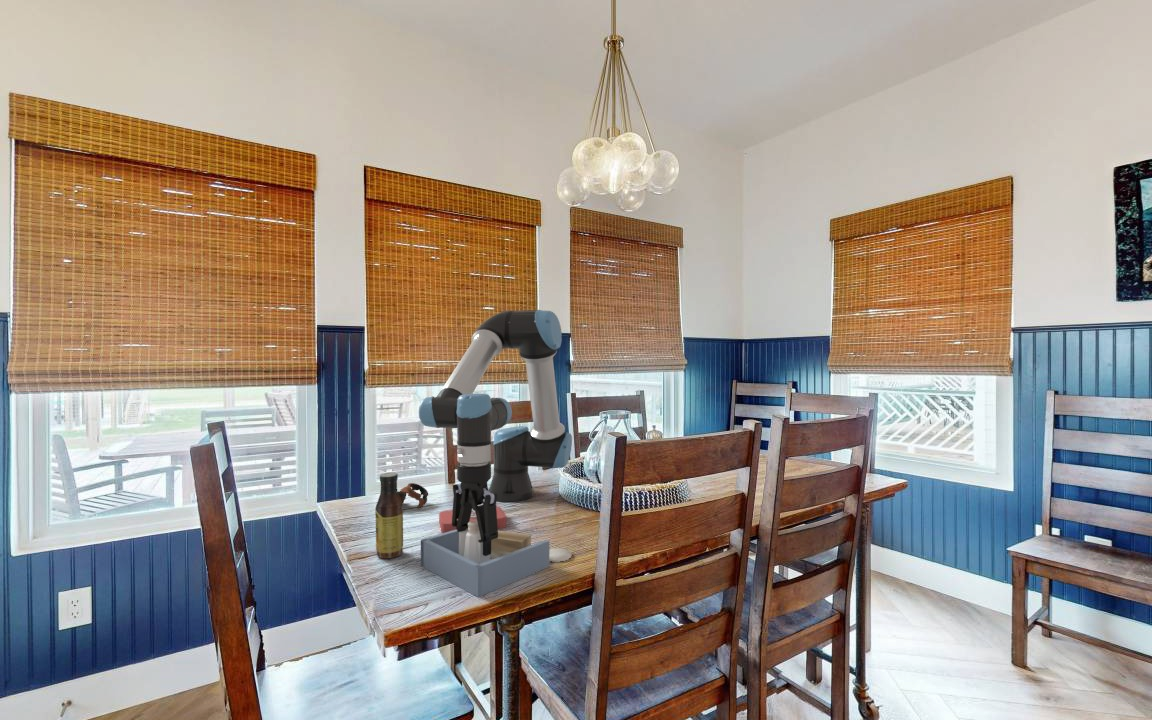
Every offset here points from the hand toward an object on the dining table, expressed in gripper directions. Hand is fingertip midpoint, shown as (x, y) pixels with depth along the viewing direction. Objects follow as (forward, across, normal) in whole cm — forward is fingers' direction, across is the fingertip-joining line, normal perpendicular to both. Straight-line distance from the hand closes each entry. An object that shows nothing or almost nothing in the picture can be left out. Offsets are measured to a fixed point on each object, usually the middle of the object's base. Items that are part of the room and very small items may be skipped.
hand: (474, 563), depth 117 cm
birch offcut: (+2, 0, +10) cm, 10 cm away
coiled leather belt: (+2, -53, +13) cm, 55 cm away
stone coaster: (+2, +8, +18) cm, 20 cm away
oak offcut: (-1, 0, +10) cm, 10 cm away
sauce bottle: (+2, -22, -9) cm, 24 cm away
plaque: (+2, -25, +17) cm, 30 cm away
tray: (+2, 0, +3) cm, 3 cm away
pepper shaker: (+2, 0, 0) cm, 2 cm away
